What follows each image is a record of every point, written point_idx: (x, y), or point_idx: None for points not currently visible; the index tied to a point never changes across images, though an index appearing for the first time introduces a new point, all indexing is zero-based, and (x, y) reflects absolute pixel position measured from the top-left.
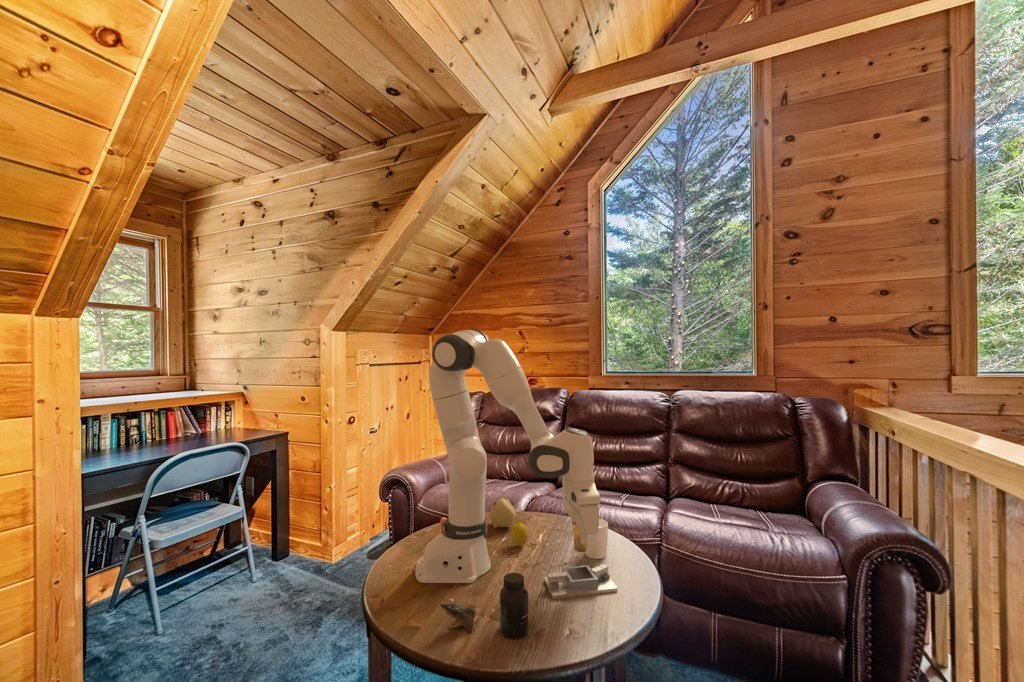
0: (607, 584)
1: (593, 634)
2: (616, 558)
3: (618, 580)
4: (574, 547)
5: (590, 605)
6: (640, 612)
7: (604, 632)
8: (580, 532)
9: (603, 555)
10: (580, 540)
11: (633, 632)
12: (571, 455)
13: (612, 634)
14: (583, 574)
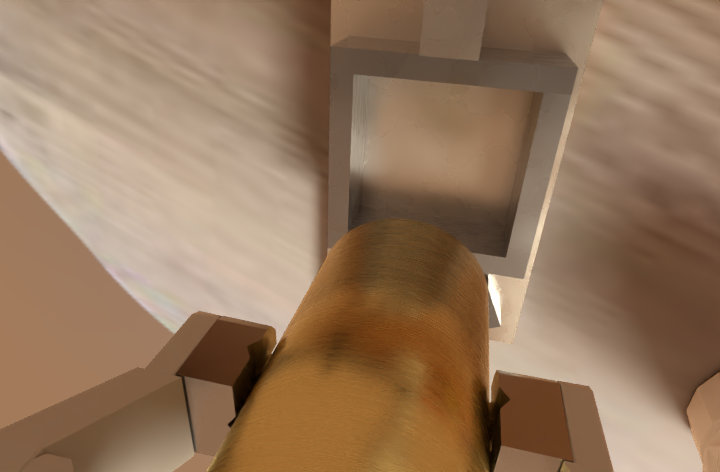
0: None
1: (11, 13)
2: (642, 463)
3: None
4: (402, 232)
5: (239, 110)
6: (171, 295)
7: (32, 77)
8: (60, 430)
9: (692, 430)
10: (193, 330)
11: (47, 199)
12: None
13: (24, 107)
14: (508, 210)
